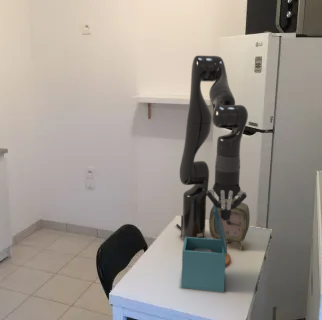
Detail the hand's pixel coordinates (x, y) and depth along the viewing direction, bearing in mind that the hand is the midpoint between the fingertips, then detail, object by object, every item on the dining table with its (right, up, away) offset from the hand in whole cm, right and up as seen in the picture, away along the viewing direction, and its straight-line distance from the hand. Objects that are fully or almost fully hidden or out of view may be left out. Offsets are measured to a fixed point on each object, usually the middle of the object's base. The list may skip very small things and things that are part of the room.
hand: (225, 219), depth 143 cm
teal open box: (-6, -22, +7) cm, 24 cm away
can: (-6, -21, +7) cm, 23 cm away
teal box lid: (-2, -2, +1) cm, 3 cm away
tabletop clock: (+11, -15, +34) cm, 39 cm away
